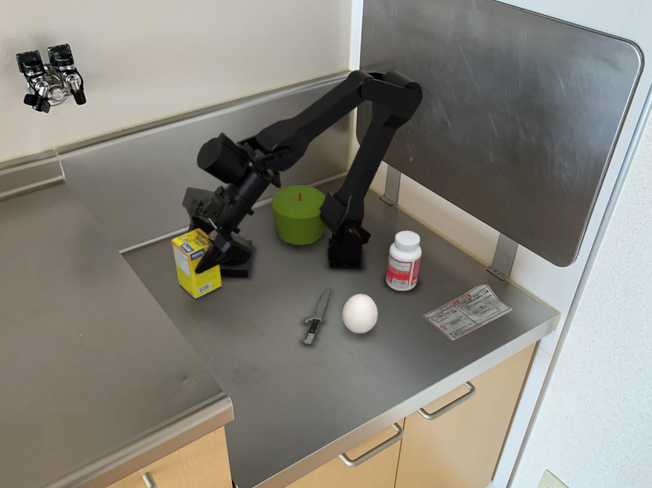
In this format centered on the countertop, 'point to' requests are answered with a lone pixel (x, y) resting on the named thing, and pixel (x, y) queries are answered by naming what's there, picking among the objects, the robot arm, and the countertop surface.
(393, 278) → the pill bottle
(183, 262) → the supplement box
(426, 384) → the countertop surface
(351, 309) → the egg
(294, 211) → the apple
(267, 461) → the countertop surface
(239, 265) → the black button base
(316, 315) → the knife
